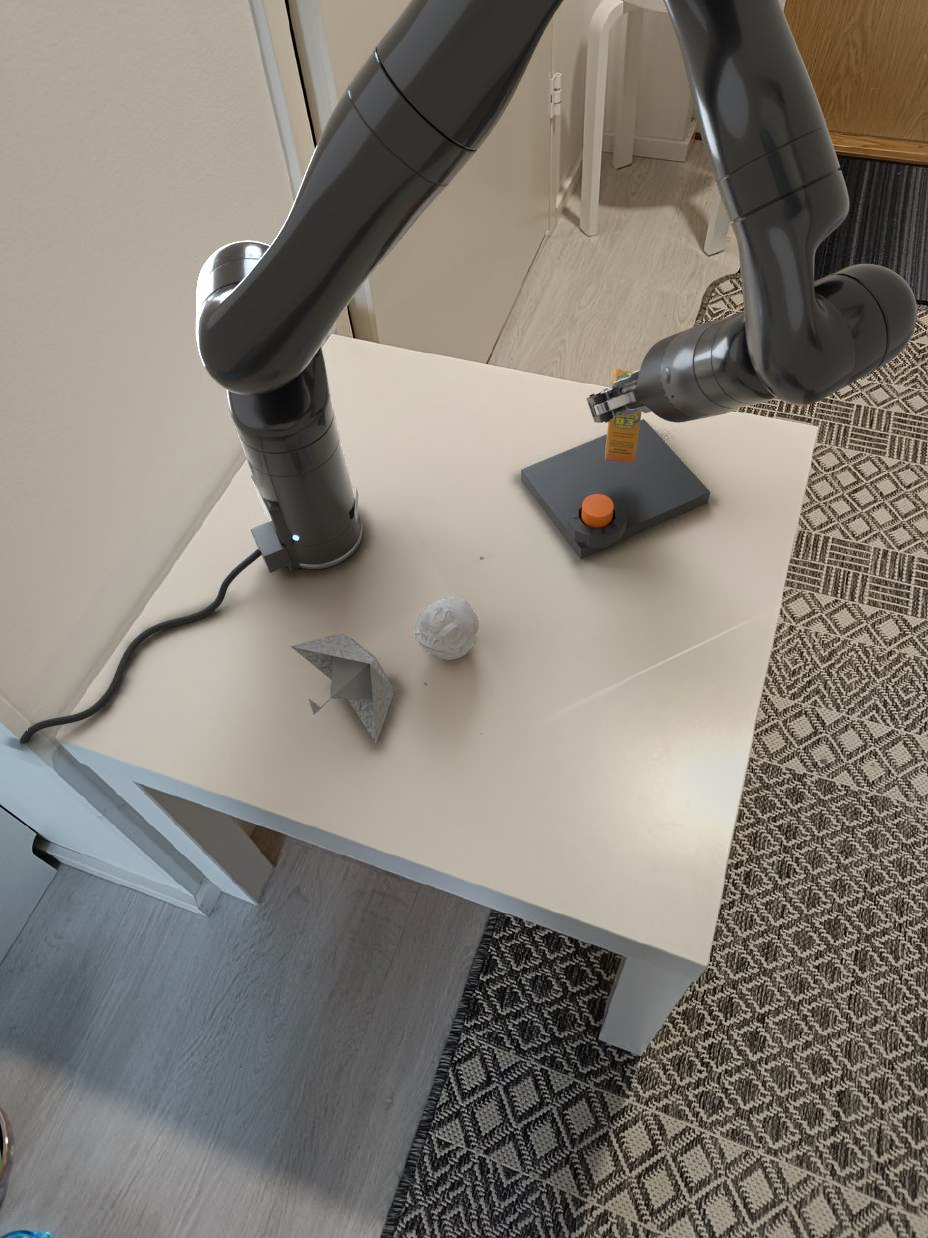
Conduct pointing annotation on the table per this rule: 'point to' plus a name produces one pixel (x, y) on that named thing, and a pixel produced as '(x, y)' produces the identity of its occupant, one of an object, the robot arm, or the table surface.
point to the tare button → (597, 510)
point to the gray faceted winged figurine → (351, 678)
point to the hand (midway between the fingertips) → (615, 397)
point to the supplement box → (622, 431)
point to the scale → (614, 489)
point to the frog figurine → (447, 628)
